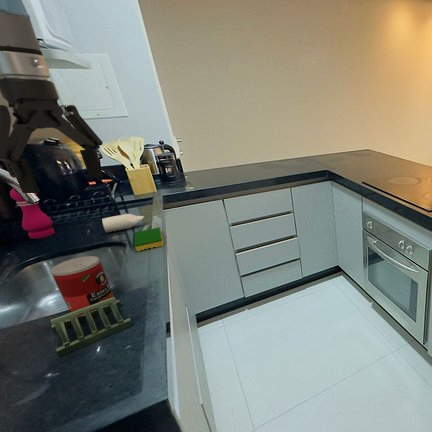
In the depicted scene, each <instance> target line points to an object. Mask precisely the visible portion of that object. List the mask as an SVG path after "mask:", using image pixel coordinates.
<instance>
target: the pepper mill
mask: <svg viewBox="0 0 432 432" xmlns="http://www.w3.org/2000/svg"><path fill="white" fill-rule="evenodd" d="M35 194H36V195H37V196H38V193H35ZM9 195H10V198H11V199H12V200H14V201H16V202H15V203H16V206H18V207H20V208H21V211H22V219H21V227H22V229H23V230H25V231H26V232H28V233H27V235H28V237H29V239H31V240H35V239H37V240H38V239H42V238H47V237H50V236H52V235H55V234H56V232H55V229H54V227H52V226H53V223H54V222H53V220H52V219H51V217H49V216H48V215H47V214H46V213H44V212H43V211H42V210H41V208H40V207H39V202H37V203H34V204H29V203H27V202H26V201H25V200H24V199H23V198H22V197H21V196H20V195H19V194H18V193H17V192H16V191H15V190H14V188H12V189H11V190H10V191H9Z"/></svg>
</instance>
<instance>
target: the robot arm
mask: <svg viewBox="0 0 432 432" xmlns="http://www.w3.org/2000/svg"><path fill="white" fill-rule="evenodd" d="M51 77H52V76H51V73H50V70H49V68H48V64H47V62H46V59H45V56H44V55H43V52H42V49H41V48H40V45H39V41H38V38H37V36H36V32H35V29H34V26H33V23H32V21H31V16H30V15H29V13H28V11H27V9H26V6H25V5H24V2H23V0H0V94H1V96H2V98H3V99H4V100H6V101H7V103H8V104H7V105H8V106H7V105H4V104H0V162H2V163H4V166H5V168H6V170H7V172H8V174H9V176H10V177H11V178H14V179H16V182H18V183H19V186H20V188H21V190H22V192H23V193H37V194H38V193H41V191H40V188H39V186H38V184H37V182H36V180H35V176H34V174H33V172H32V171H31V168H30V166H29V164H28V161H27V159H20V158H21V156H22V155H23V152H24V151H25V148H26V146H27V144H28V142H29V140H30V139H31V136H32V134H33V132H35V131H36V130H41V129H55V130H57V131H59V133H62V134H63V135H64V136H65V137H67V138H68V139H69V140H71V141H72V142H74V144H77V145H78V146H79V147H80V148H82V149H79V152H80V156H81V159H82V160H83V163H84V166H85V168H86V169H85V170H86V171H87V174H88V176H89V178H103V177H104V175H103V172H102V169H101V166H100V164H99V163H100V158H99V154H98V152H97V150H99V149H101V146H102V145H104V143H103V140H102V139H101V138H100V137H99V135H98V134H96V132H95V131H94V130H93V129H92V128H91V126H90V125H89V124H88V123H87V122H86V121H85V119H84V117H82V116H81V115H80V113H79V110H78V108H77V106H76V105H74V104H61V105H60V104H59V103H58V100H59V99H60V96H59V94H58V92H57V91H58V90H57V88H56V86H55V83H54V82H52V81H51V80H49V79H50V78H51ZM63 116H64V117H63ZM12 117H14V118H15V120H14V122H13V124H12ZM11 125H12V130H11ZM10 132H11V133H10Z"/></svg>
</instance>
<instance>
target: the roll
mask: <svg viewBox="0 0 432 432" xmlns="http://www.w3.org/2000/svg"><path fill="white" fill-rule="evenodd" d="M144 218H145V216H144V215H135V214H132V213H125V214H119V215H114V216H109V217H108V216H107V217H103V218H102V220H101V222H102V226H103V229H104V232H105V233H106V234H108V233H112V231H113V232H117V230H118V231H122V230H123V231H124V230H127V229H132V228H133V227H134V226H136V225H137V224H138V223H140V222H141V221H142V220H143V219H144Z"/></svg>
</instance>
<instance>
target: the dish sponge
mask: <svg viewBox="0 0 432 432" xmlns="http://www.w3.org/2000/svg"><path fill="white" fill-rule="evenodd" d="M162 235H163V234H162V231H161V228H160V227H154V228H149V229H144V230H143V229H142V230H139V231H135V232H134V247H135V250H136V252H142V251H141V250H143V251H145V250H144V249H147V250H149V249H148V248H151V249H154V248H153V247H156V248H159V247H163V246H164V239H163V236H162Z"/></svg>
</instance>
